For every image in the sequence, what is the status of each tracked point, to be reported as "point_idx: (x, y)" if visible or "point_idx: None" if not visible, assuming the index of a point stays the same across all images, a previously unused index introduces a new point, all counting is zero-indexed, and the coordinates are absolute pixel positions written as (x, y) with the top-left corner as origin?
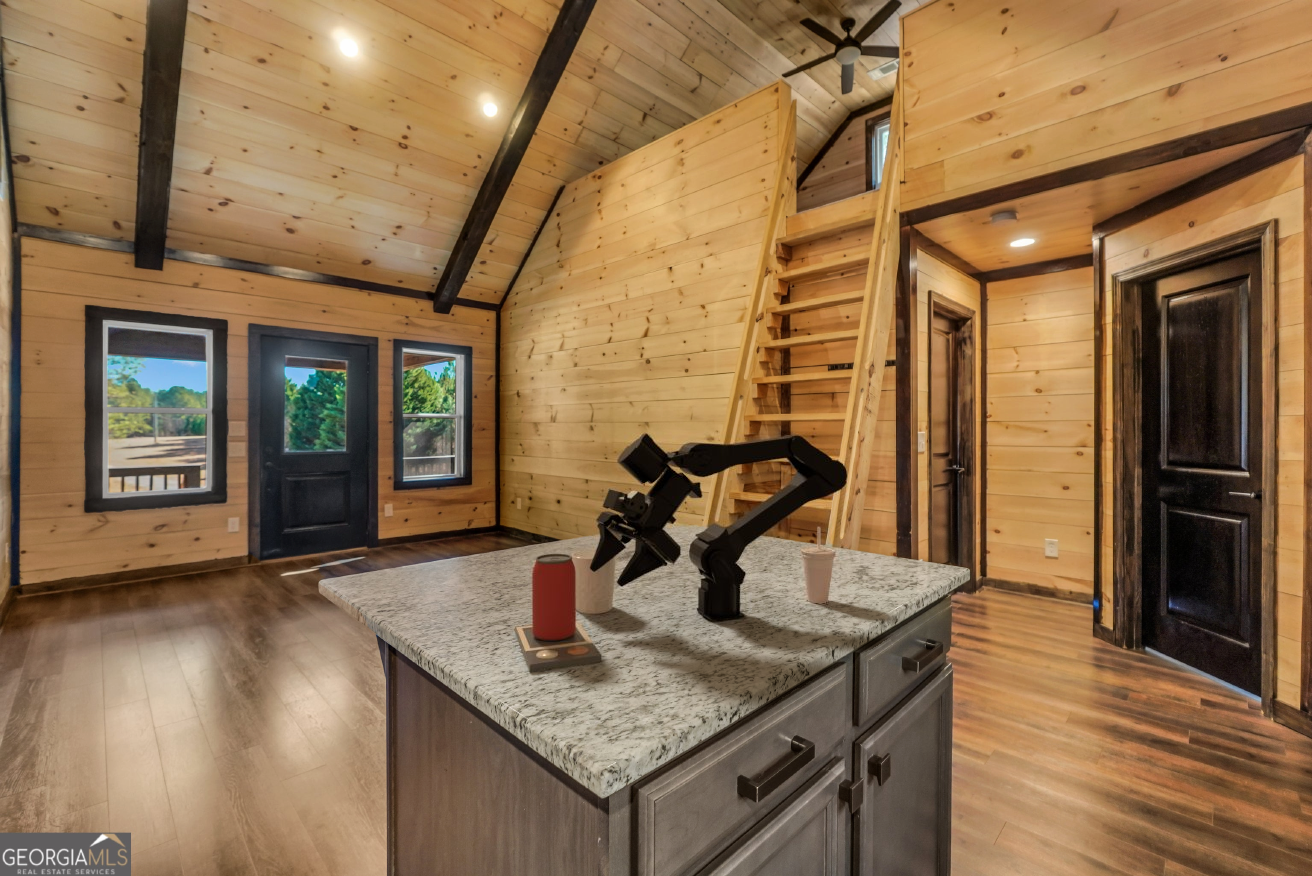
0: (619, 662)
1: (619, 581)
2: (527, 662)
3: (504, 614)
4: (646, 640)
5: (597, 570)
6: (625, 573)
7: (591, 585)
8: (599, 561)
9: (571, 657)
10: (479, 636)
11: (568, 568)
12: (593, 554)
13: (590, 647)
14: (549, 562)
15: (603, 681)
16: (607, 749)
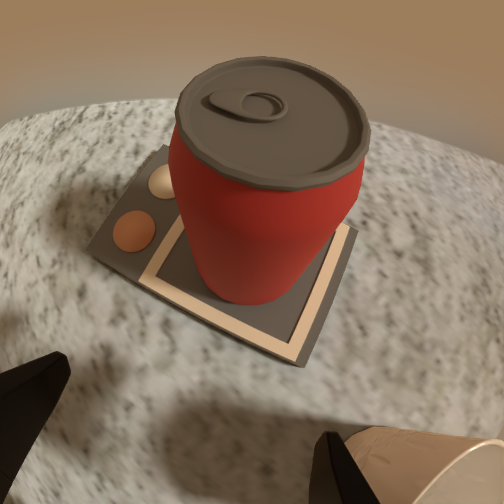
0: (66, 276)
1: (50, 354)
2: None
3: (454, 285)
4: (97, 405)
5: (380, 496)
6: (16, 368)
7: (371, 462)
8: (321, 486)
9: (123, 203)
10: (373, 186)
11: (172, 143)
12: None
13: (125, 260)
14: (217, 64)
15: (52, 208)
16: (5, 135)
